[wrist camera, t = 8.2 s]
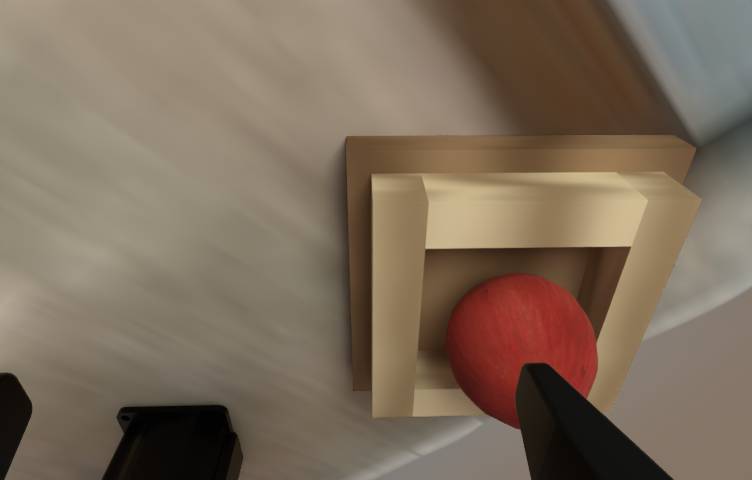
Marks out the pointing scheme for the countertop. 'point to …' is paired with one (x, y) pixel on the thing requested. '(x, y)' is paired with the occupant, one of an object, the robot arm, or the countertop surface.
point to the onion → (517, 340)
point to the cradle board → (481, 260)
